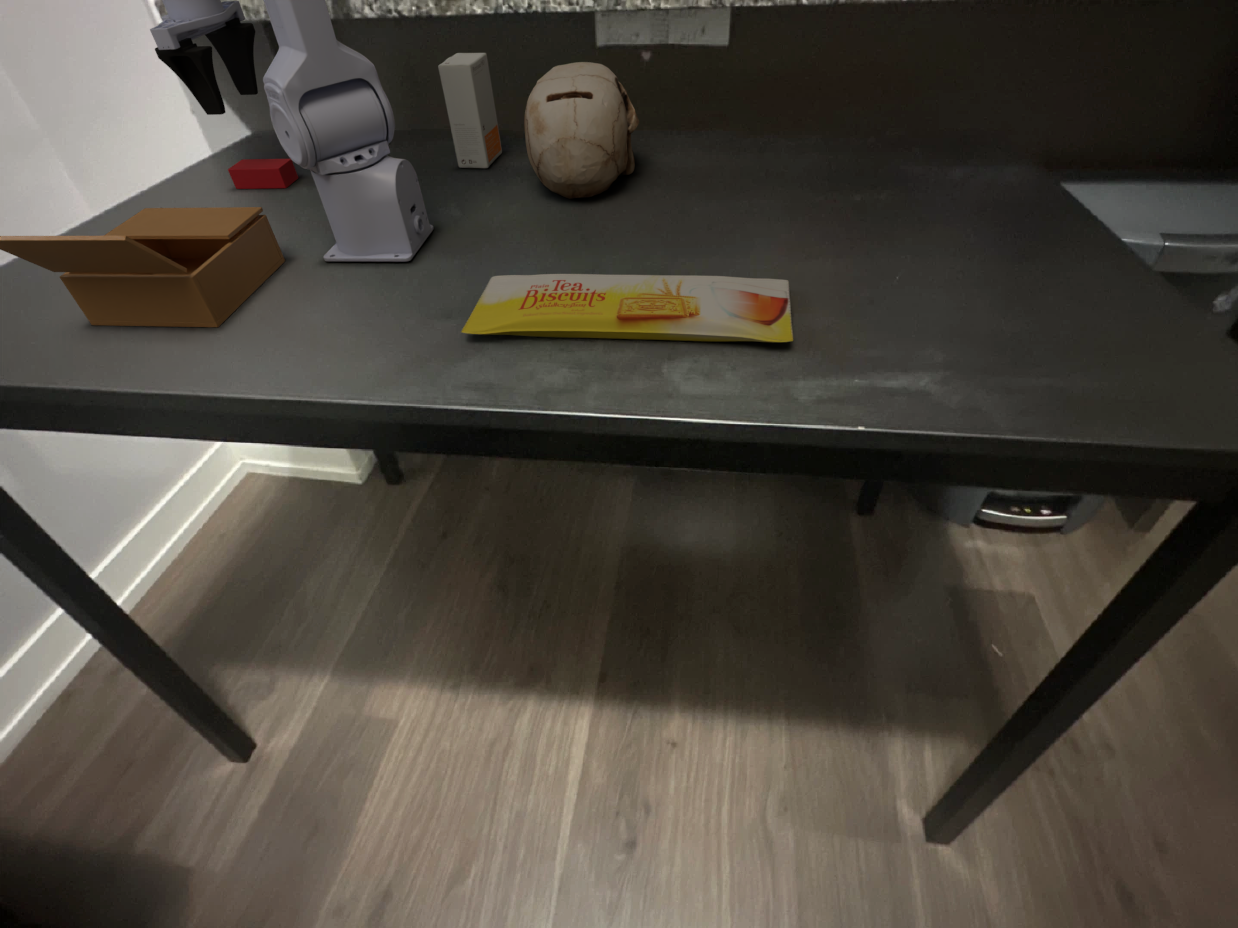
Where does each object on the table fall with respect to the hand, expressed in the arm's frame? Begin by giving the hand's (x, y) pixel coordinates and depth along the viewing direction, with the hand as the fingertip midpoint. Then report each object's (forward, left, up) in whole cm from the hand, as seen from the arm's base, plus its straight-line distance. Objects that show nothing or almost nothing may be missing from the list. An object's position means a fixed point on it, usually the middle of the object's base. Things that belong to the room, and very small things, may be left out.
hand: (233, 103), depth 82 cm
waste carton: (-7, +28, -10) cm, 30 cm away
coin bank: (-42, -1, -10) cm, 43 cm away
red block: (0, 0, -10) cm, 10 cm away
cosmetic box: (-27, -7, -10) cm, 30 cm away
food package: (-51, +32, -10) cm, 61 cm away
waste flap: (-7, +36, -1) cm, 37 cm away
